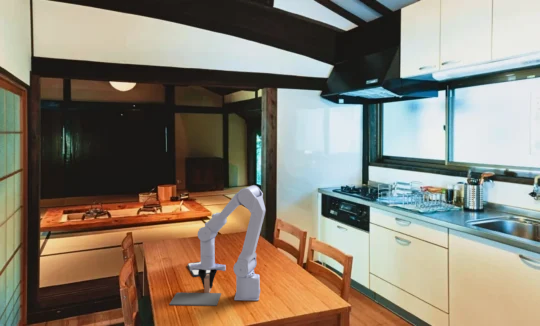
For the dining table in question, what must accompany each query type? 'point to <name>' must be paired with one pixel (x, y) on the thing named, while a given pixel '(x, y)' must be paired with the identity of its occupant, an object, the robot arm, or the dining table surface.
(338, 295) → the dining table surface
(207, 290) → the tile
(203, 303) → the mat
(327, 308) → the dining table surface
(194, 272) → the phone case
